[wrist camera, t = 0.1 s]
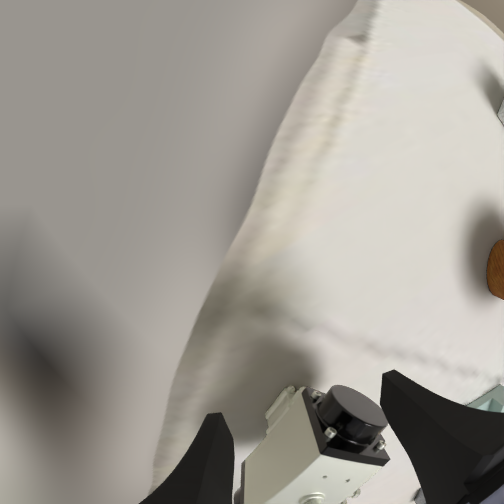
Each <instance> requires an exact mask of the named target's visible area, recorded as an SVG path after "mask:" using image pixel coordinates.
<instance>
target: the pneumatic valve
mask: <svg viewBox="0 0 504 504" xmlns="http://www.w3.org/2000/svg"><path fill="white" fill-rule="evenodd" d="M294 390H295V389H294V386H289V387H288V388H284V390H283V391H282V392H281V394H280V395H279V396H278V398H277V399H276V400H275V402H274V403H273V404H272V406H271V407H270V408H269V409H268V411H267V412H266V413H265V416H266V417H265V418H266V419H267V420H268V421H267V424H268V429H267V430H266V435H267V436H266V437H265V438H264V440H263V441H262V442H261V443H260V444H259V445H258V446H257V447H256V449H255V450H254V451H253V452H252V453H251V454H250V455H249V456H248V457H247V458H246V459H245V460H244V461H243V462H242V467H241V487H240V488H239V489H238V490H237V491H236V492H235V494H234V504H347V500H346V498H350V497H351V498H356V497H358V496H359V495H360V489H359V488H360V487H361V486H362V485H363V484H365V483H366V482H367V481H368V480H369V479H370V478H371V477H372V476H374V475H375V474H376V473H377V472H378V471H379V470H380V469H381V468H382V467H383V466H384V465H385V464H386V463H387V462H388V461H389V460H390V458H389V456H388V454H387V453H386V451H385V449H384V447H385V446H386V443H385V440H384V438H383V437H382V435H381V434H380V433H381V432H382V431H383V430H384V429H385V428H386V427H387V425H388V421H387V419H386V417H385V415H384V412H383V410H382V409H381V408H380V407H379V406H378V405H377V404H376V403H375V402H373V401H372V400H371V399H369V398H368V397H366V396H365V395H363V394H362V393H360V392H358V391H356V390H354V389H352V388H349V387H346V386H342V385H334V386H332V387H331V388H330V390H329V391H328V392H327V393H326V394H325V393H322V392H320V391H317V390H315V389H312V388H310V387H307V386H306V387H301V388H300V389H299V390H298V391H297V392H294Z"/></svg>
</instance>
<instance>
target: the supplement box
mask: <svg viewBox="0 0 504 504" xmlns="http://www.w3.org/2000/svg"><path fill="white" fill-rule="evenodd" d="M497 115H498V117H499V119H500V120H501V122H502V123H503V125H504V100H503V102H502V104H501V107H500V109H499V112H498V114H497Z"/></svg>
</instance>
